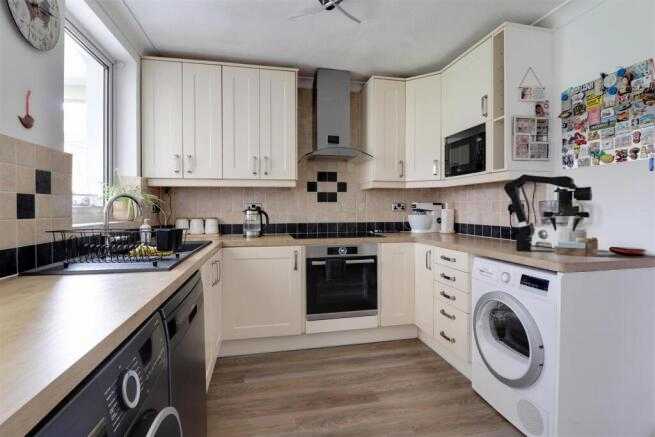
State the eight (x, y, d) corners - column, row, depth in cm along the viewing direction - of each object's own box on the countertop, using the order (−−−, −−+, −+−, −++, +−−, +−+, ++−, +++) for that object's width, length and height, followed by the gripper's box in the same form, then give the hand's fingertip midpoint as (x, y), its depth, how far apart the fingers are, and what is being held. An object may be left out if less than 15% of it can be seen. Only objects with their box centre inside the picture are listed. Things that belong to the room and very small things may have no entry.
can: (589, 251, 169) (589, 229, 169) (573, 251, 171) (573, 229, 170) (580, 250, 176) (581, 228, 176) (565, 249, 178) (566, 228, 178)
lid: (558, 247, 158) (558, 242, 158) (555, 245, 165) (555, 240, 165) (585, 248, 153) (585, 243, 153) (581, 246, 160) (581, 241, 160)
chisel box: (556, 254, 159) (556, 238, 159) (554, 253, 164) (554, 237, 164) (597, 256, 152) (597, 239, 151) (593, 255, 157) (594, 238, 157)
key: (577, 242, 156) (577, 237, 156) (575, 241, 159) (575, 236, 159) (596, 242, 153) (596, 238, 153) (594, 242, 156) (594, 237, 155)
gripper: (546, 200, 156) (545, 231, 157) (593, 200, 148) (592, 233, 149) (542, 201, 166) (541, 230, 167) (586, 200, 158) (585, 231, 158)
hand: (564, 231), depth 160 cm, fingers open, 7 cm apart
